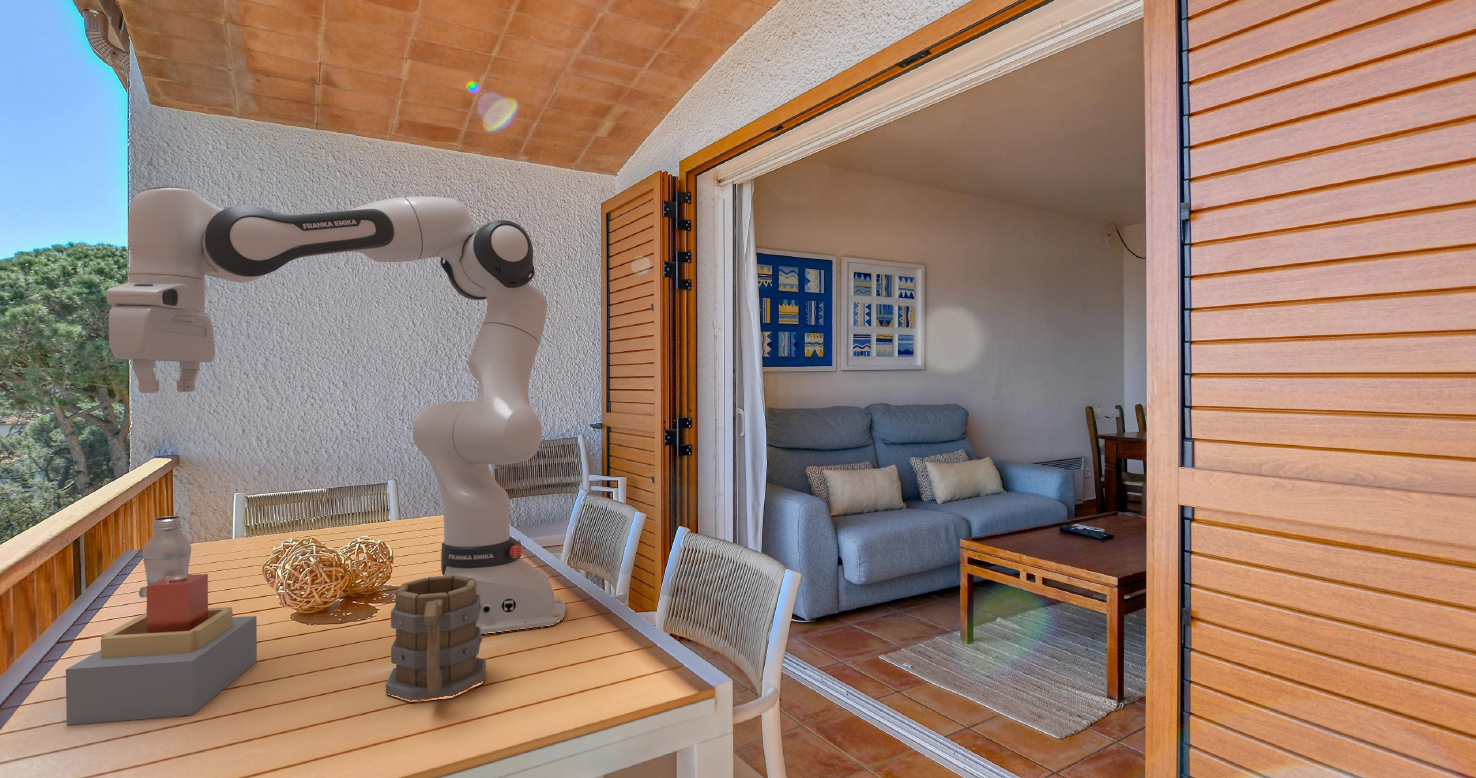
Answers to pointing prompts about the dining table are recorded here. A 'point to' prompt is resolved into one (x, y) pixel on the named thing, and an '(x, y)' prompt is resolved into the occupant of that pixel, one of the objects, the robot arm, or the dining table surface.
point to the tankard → (435, 638)
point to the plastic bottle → (166, 550)
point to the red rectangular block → (176, 603)
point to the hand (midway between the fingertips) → (168, 392)
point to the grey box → (160, 669)
